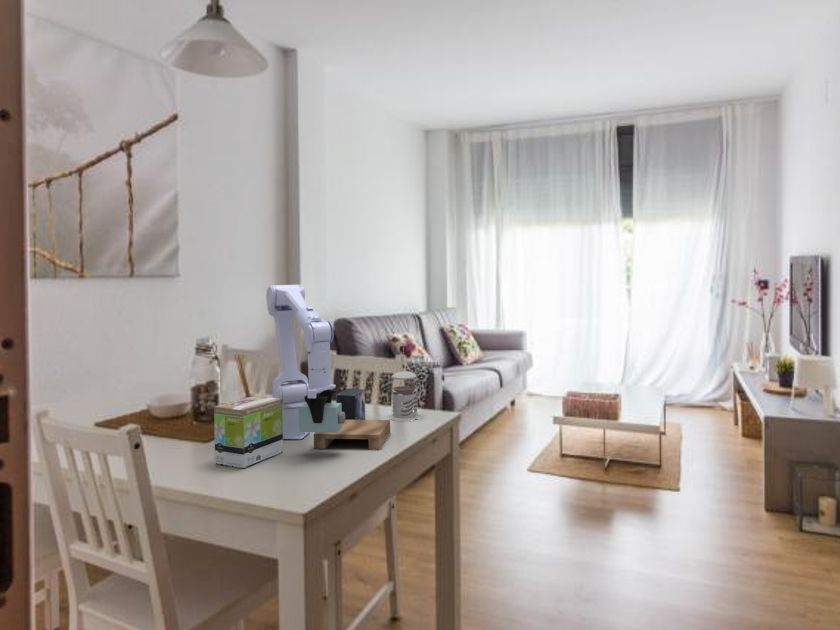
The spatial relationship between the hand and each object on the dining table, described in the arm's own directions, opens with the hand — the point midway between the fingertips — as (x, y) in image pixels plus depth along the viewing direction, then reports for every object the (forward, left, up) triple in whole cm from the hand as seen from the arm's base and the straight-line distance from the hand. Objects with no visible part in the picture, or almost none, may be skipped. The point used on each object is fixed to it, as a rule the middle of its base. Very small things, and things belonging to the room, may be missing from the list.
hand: (321, 420), depth 154 cm
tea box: (-18, -5, -9) cm, 20 cm away
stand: (+5, +12, -9) cm, 16 cm away
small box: (0, +30, -9) cm, 32 cm away
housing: (0, 0, -2) cm, 3 cm away
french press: (+16, +40, -9) cm, 45 cm away
